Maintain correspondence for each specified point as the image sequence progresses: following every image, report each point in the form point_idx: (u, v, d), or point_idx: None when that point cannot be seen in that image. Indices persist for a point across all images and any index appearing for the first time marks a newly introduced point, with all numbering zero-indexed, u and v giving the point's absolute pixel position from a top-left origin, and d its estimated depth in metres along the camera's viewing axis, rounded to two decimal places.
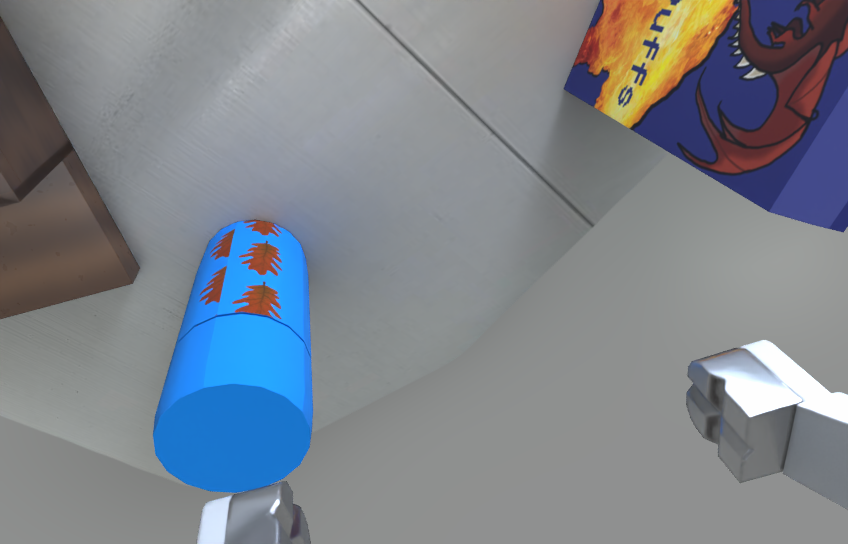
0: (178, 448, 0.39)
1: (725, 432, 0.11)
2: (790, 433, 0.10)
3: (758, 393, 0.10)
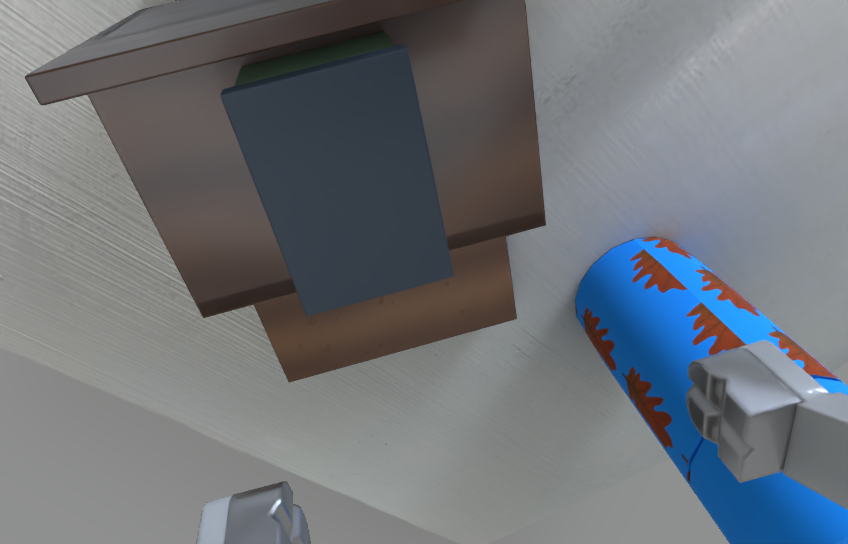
0: None
1: (725, 432, 0.11)
2: (791, 434, 0.10)
3: (758, 393, 0.10)
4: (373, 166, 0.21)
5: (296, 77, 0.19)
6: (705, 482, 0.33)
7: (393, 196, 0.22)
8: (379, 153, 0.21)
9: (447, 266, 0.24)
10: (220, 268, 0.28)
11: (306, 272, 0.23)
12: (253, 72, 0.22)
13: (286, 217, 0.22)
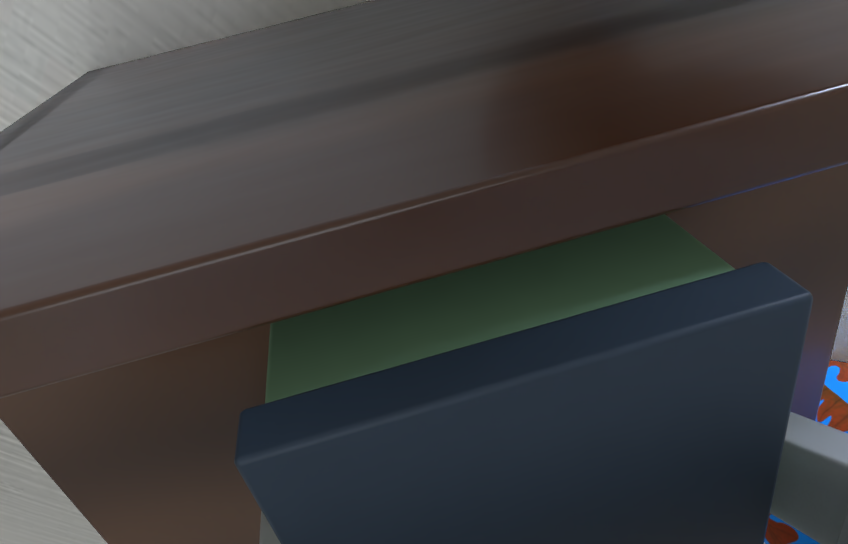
0: None
1: None
2: None
3: None
4: None
5: (476, 398, 0.06)
6: None
7: None
8: (655, 525, 0.08)
9: None
10: None
11: None
12: None
13: None
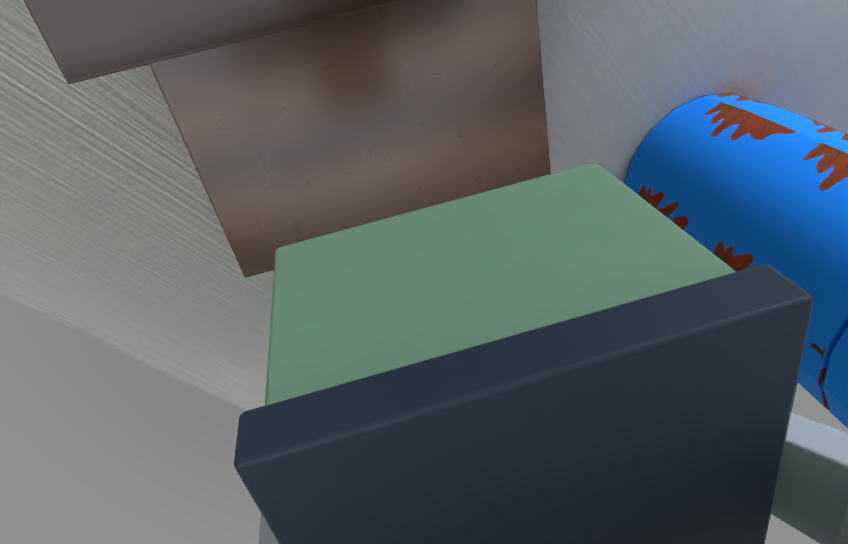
0: None
1: None
2: None
3: None
4: None
5: (476, 400, 0.06)
6: None
7: None
8: (655, 527, 0.08)
9: None
10: None
11: None
12: (312, 288, 0.09)
13: None
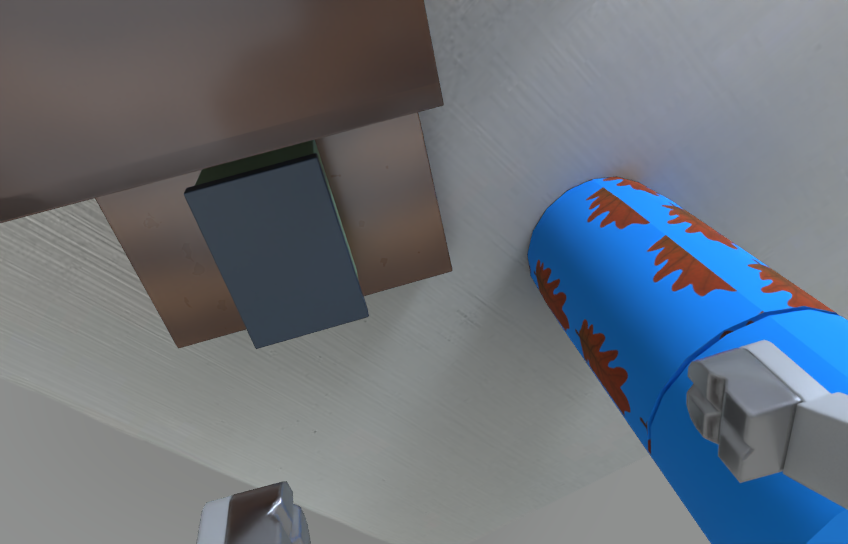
0: None
1: (725, 432, 0.11)
2: (790, 434, 0.10)
3: (758, 393, 0.10)
4: (298, 238, 0.29)
5: (237, 180, 0.27)
6: (667, 449, 0.25)
7: (315, 259, 0.29)
8: (302, 229, 0.29)
9: (362, 309, 0.31)
10: None
11: (253, 315, 0.30)
12: (212, 169, 0.30)
13: (235, 276, 0.29)
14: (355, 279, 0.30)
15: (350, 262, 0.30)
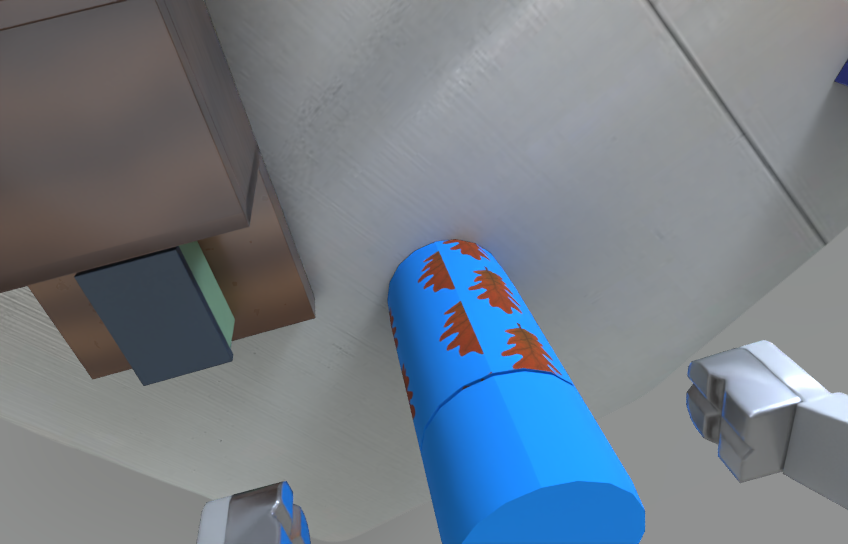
0: None
1: (725, 432, 0.11)
2: (790, 434, 0.10)
3: (758, 393, 0.10)
4: (168, 306, 0.38)
5: (115, 266, 0.36)
6: (425, 470, 0.34)
7: (183, 320, 0.38)
8: (170, 299, 0.37)
9: (226, 355, 0.40)
10: None
11: (138, 362, 0.39)
12: None
13: (121, 334, 0.38)
14: (217, 334, 0.39)
15: (212, 322, 0.39)
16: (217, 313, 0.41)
